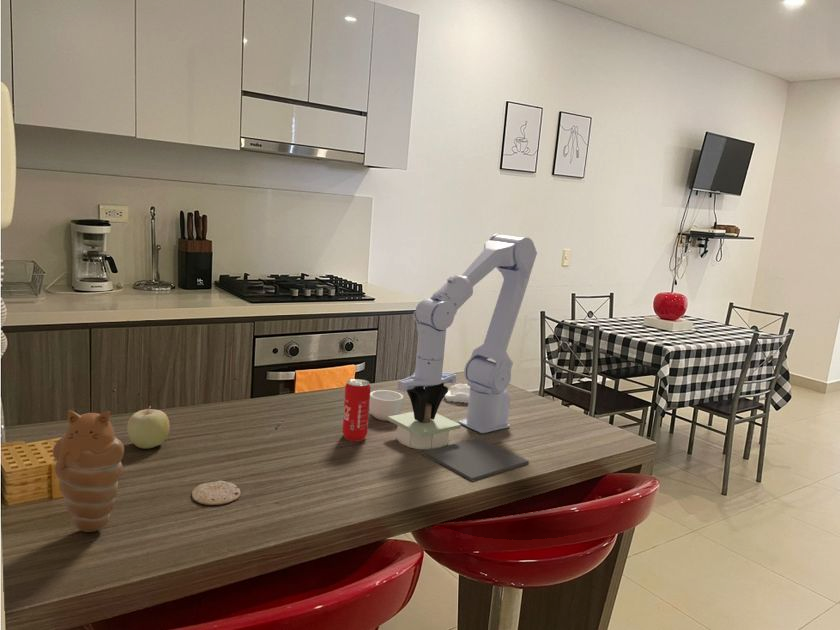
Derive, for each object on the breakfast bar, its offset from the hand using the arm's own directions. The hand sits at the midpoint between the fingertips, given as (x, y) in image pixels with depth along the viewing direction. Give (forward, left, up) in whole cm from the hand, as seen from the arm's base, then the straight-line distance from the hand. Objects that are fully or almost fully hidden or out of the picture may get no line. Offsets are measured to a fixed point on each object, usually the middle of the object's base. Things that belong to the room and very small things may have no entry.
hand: (424, 419), depth 134 cm
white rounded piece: (-28, -17, -5) cm, 33 cm away
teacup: (-1, -16, -5) cm, 17 cm away
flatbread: (+46, +2, -5) cm, 46 cm away
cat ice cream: (+65, +4, -5) cm, 65 cm away
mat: (-3, +13, -5) cm, 14 cm away
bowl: (0, 0, -5) cm, 5 cm away
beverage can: (+12, -8, -5) cm, 15 cm away
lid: (0, 0, -1) cm, 1 cm away
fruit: (+49, -23, -5) cm, 54 cm away
